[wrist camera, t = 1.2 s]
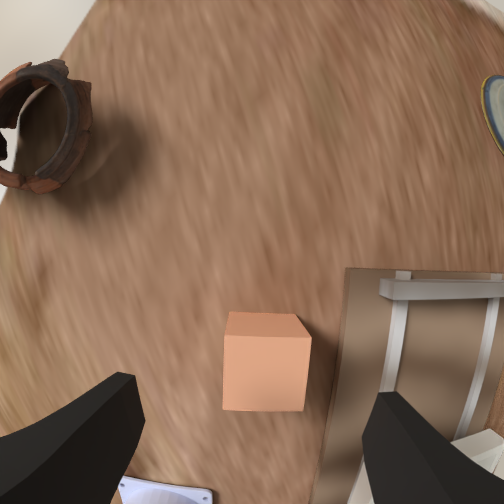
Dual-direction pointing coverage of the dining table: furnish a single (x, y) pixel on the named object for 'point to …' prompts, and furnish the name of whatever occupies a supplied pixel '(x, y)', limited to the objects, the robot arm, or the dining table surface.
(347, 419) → the track board
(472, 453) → the white square tray
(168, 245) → the dining table surface
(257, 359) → the terracotta block
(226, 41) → the dining table surface
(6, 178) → the pottery mug
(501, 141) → the apothecary jar
